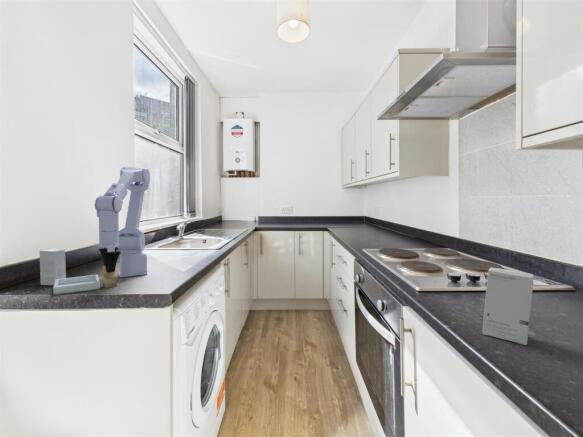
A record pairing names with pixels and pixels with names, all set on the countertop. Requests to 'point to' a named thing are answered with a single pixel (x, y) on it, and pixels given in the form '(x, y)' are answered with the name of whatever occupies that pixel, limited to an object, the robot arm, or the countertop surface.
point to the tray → (76, 284)
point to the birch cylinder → (109, 278)
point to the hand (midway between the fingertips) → (109, 270)
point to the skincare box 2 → (508, 305)
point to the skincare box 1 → (52, 266)
